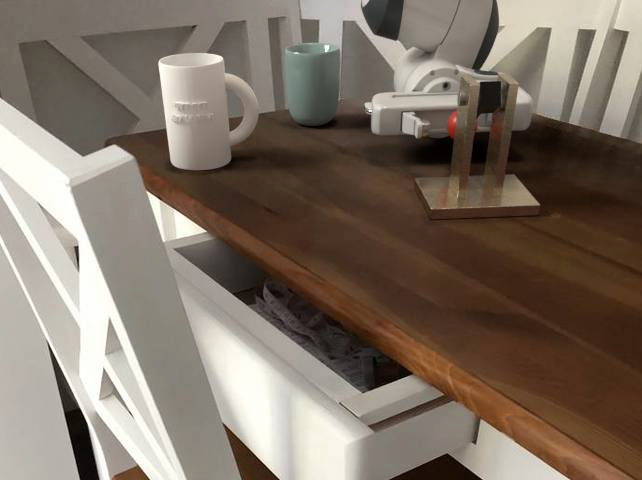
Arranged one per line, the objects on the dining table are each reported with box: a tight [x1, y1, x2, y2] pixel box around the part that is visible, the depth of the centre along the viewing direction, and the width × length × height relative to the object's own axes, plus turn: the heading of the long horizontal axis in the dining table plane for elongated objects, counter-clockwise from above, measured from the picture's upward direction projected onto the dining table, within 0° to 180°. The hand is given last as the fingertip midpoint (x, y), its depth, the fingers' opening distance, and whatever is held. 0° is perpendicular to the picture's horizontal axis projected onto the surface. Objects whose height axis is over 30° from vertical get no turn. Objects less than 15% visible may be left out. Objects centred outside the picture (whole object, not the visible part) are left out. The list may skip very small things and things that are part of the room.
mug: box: [157, 52, 260, 171], centre depth 93 cm, size 8×12×12 cm
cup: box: [284, 42, 342, 127], centre depth 107 cm, size 8×8×10 cm
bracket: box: [413, 73, 541, 220], centre depth 80 cm, size 10×12×13 cm
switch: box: [447, 81, 501, 141], centre depth 82 cm, size 13×4×4 cm, turn 4°
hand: (463, 130), depth 87 cm, fingers open, 8 cm apart
